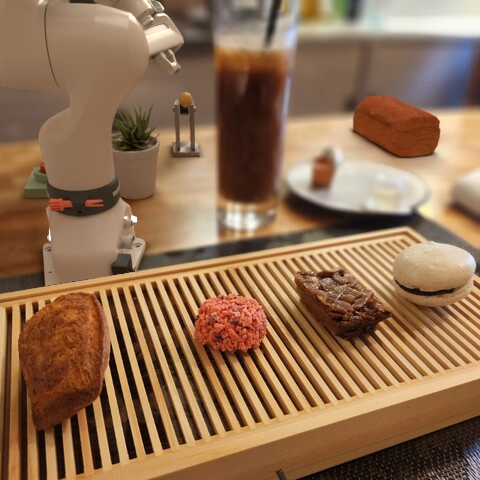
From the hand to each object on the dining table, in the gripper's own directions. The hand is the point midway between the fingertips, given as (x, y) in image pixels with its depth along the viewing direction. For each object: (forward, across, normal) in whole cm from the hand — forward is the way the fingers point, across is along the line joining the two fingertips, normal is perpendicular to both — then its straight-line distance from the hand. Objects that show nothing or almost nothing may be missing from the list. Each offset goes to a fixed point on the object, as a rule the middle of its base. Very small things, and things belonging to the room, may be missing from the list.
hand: (176, 72), depth 106 cm
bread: (+50, +46, -19) cm, 71 cm away
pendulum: (+13, +10, +18) cm, 25 cm away
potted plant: (+14, -19, +17) cm, 29 cm away
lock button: (-2, -23, +28) cm, 37 cm away
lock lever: (+7, +5, +7) cm, 11 cm away
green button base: (0, -23, +31) cm, 39 cm away
